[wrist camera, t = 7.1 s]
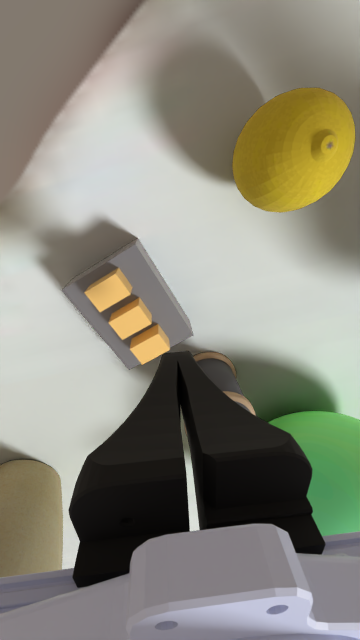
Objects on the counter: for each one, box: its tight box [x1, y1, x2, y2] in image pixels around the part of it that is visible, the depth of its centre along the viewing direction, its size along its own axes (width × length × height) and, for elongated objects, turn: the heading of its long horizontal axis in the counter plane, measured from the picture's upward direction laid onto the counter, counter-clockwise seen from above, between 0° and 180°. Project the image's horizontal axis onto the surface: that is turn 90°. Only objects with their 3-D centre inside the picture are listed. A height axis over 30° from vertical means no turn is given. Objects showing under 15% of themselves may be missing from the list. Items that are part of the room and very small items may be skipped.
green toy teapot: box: [268, 411, 360, 536], centre depth 24 cm, size 18×17×15 cm
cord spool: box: [184, 352, 256, 435], centre depth 23 cm, size 6×6×6 cm
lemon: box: [232, 88, 355, 212], centre depth 14 cm, size 6×6×8 cm
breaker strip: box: [62, 238, 193, 370], centre depth 19 cm, size 8×6×4 cm
